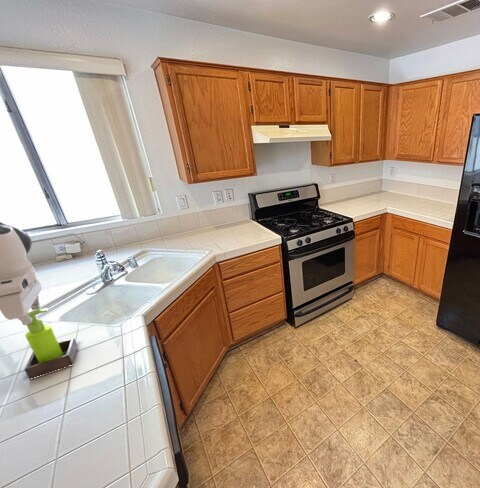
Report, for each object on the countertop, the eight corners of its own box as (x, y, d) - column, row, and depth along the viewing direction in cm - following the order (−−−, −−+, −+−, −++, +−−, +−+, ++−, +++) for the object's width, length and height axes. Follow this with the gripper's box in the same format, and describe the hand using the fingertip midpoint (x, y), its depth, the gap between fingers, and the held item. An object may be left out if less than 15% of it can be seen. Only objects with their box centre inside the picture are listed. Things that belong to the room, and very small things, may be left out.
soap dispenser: (69, 359, 92) (47, 311, 85) (41, 371, 87) (16, 321, 80) (67, 351, 96) (46, 304, 89) (40, 362, 91) (16, 313, 84)
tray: (30, 380, 85) (24, 369, 83) (38, 360, 93) (33, 349, 91) (73, 365, 90) (68, 355, 89) (78, 347, 99) (74, 337, 97)
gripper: (11, 268, 86) (28, 304, 91) (-15, 295, 70) (7, 336, 75) (38, 263, 90) (53, 298, 94) (19, 288, 74) (38, 328, 79)
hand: (32, 315), depth 85 cm, fingers open, 8 cm apart
